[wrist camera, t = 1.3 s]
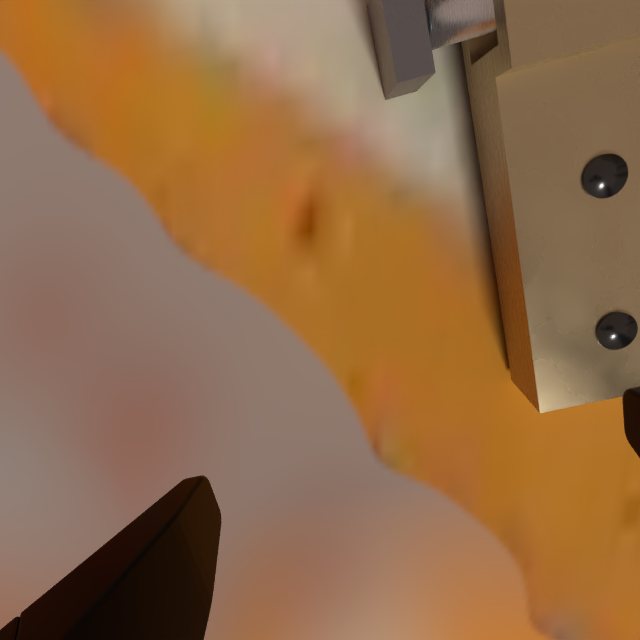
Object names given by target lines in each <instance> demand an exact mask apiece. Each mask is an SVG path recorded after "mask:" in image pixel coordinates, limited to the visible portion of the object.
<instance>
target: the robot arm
mask: <svg viewBox="0 0 640 640" xmlns="http://www.w3.org/2000/svg"><path fill="white" fill-rule="evenodd" d="M622 400H623V415H624V429H625V434H626V437H627V440H628V442H629V444H630V445H631V447H632V448H633V449H634V451H635V452H636V453H637V455H638V456H639V458H640V386H638V387H633V388H629V389H626V390H625V392H624V393H623V399H622ZM220 530H221V513H220V509H219V506H218V503H217V501H216V498H215V495H214V493H213V490H212V487H211V485H210V482H209V480H208V479H207V478H206V477H205V476H197V477H192V478H186V479H184V480H183V481H181V482H180V483H179V484H177V485H176V486H175V487H174V488H173V489H171V490H170V491H169V492H168V493H167V494H165V495H164V496H163V497H162V498H160V499H159V500H158V501H157V502H156V503H154V504H153V505H152V506H151V507H149V508H148V509H147V510H146V511H145V512H143V513H142V514H141V515H140V516H138V517H137V518H136V519H135V520H134V521H132V522H131V523H130V524H129V525H127V526H126V527H125V528H124V529H123V530H121V531H120V532H119V533H118V534H117V535H115V536H114V537H113V538H112V539H110V540H109V541H108V542H107V543H106V544H105V545H103V546H102V547H101V548H100V549H98V550H97V551H96V552H95V553H93V554H92V555H91V556H90V557H89V558H87V559H86V560H85V561H84V562H83V563H81V564H80V565H79V566H78V567H76V568H75V569H74V570H73V571H71V572H70V573H69V574H68V575H67V576H65V577H64V578H63V579H62V580H61V581H59V582H58V583H57V584H56V585H54V586H53V587H52V588H51V589H50V590H48V591H47V592H46V593H45V594H43V595H42V596H41V597H40V598H39V599H37V600H36V601H35V602H34V603H32V604H31V605H30V606H29V607H28V608H26V609H25V610H24V611H23V612H22V613H21V615H20V617H15V618H14V619H13V620H12V621H10V622H9V623H8V624H7V625H6V626H4V627H3V628H2V629H1V630H0V640H204V636H205V631H206V626H207V622H208V618H209V613H210V608H211V603H212V596H213V590H214V582H215V573H216V564H217V556H218V546H219V538H220Z"/></svg>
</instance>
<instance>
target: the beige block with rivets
mask: <svg viewBox="0 0 640 640" xmlns="http://www.w3.org/2000/svg"><path fill="white" fill-rule="evenodd" d="M493 6H494V13H495V21H496V29H497V31H496V32H493V33H489V34H486V35H482V36H479V37H475V38H472V39H468V40H465V41H461V44H462V51H463V58H464V64H465V71H466V78H467V85H468V91H469V98H470V105H471V111H472V118H473V125H474V132H475V138H476V145H477V152H478V158H479V165H480V172H481V179H482V185H483V192H484V199H485V205H486V212H487V219H488V226H489V232H490V239H491V246H492V252H493V259H494V266H495V273H496V279H497V286H498V293H499V300H500V306H501V313H502V320H503V326H504V333H505V340H506V347H507V353H508V360H509V367H510V373H511V380H512V381H513V383H514V384H515V385H516V386H517V387H518V388H519V389H520V391H521V392H522V393H523V394H524V395H525V396H526V398H527V399H528V400H529V401H530V402H531V403H532V404H533V406H534V407H535V408H536V409H537V410H538V411H539V413H543V412H548V411H553V410H558V409H563V408H567V407H572V406H577V405H582V404H587V403H592V402H596V401H601V400H606V399H611V398H616V397H621V396H623V393H624V392H625V390H626V389H629V388H633V387H638V386H640V0H493Z"/></svg>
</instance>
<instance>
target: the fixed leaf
mask: <svg viewBox="0 0 640 640" xmlns="http://www.w3.org/2000/svg"><path fill="white" fill-rule="evenodd" d="M367 8H368V14H369V19H370V24H371V29H372V34H373V39H374V44H375V49H376V54H377V59H378V64H379V69H380V74H381V80H382V85H383V90H384V95H385V100H387V99H390V98H394V97H397V96H401V95H404V94H408V93H412V92H415V91H417V90H418V89H419V88H420V87H421V86H422V85H423V84H424V83H425V82H426V81H427V80H428V79H429V78H430V77H431V76H432V75H433V74H434V73H435V67H434V61H433V55H432V50H434V49H437V48H441V47H444V46H448V45H451V44H455V43H458V42H461V41H465V40H468V39H472V38H475V37H479V36H482V35H486V34H489V33H493V32H496V31H497V29H496V21H495V13H494V6H493V0H368V4H367Z"/></svg>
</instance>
